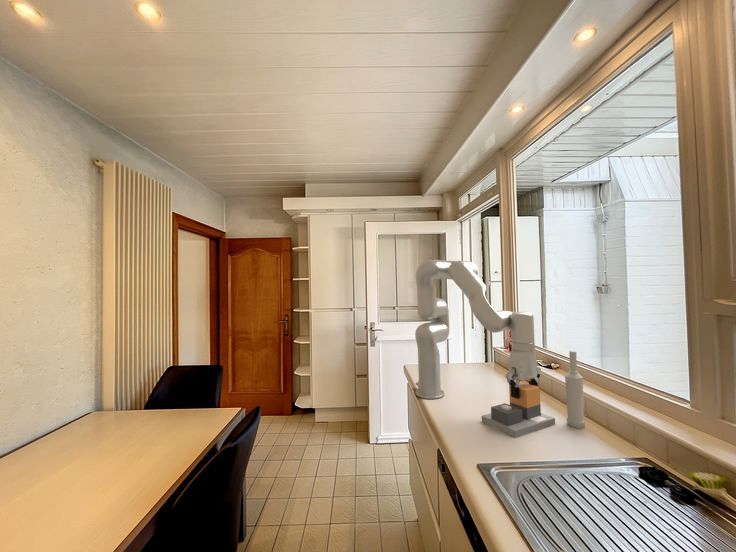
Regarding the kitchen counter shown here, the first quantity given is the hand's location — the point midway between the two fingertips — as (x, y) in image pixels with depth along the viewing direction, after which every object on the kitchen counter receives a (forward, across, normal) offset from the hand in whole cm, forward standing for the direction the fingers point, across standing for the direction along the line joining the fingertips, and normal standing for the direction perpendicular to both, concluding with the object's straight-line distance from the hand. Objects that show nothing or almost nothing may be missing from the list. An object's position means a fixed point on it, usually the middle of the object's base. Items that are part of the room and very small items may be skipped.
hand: (524, 395), depth 116 cm
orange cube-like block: (+3, 0, 0) cm, 3 cm away
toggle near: (+6, +10, 0) cm, 11 cm away
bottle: (+9, -11, +11) cm, 18 cm away
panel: (+9, +4, 0) cm, 10 cm away
